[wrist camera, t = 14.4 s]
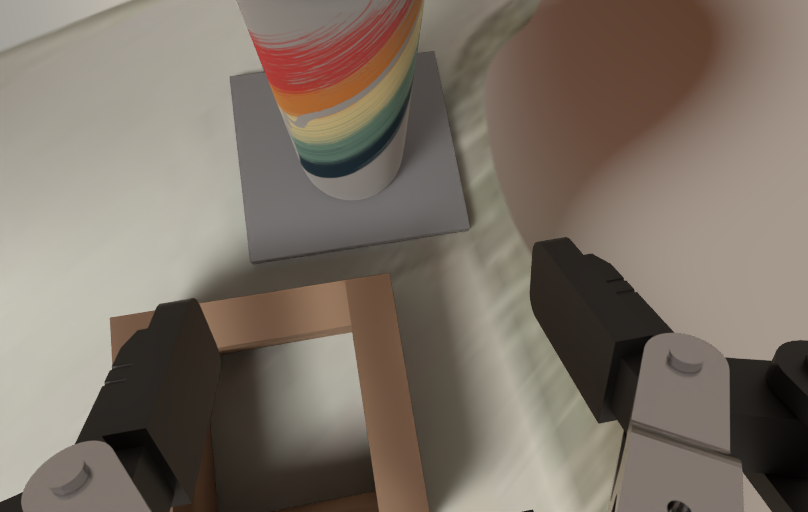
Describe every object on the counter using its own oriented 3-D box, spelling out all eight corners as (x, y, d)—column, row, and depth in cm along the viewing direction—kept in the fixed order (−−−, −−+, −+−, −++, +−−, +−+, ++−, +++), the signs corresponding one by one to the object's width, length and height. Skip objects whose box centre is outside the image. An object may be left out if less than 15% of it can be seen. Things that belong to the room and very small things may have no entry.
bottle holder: (180, 575, 23) (126, 633, 18) (162, 325, 25) (110, 317, 21) (426, 524, 24) (438, 567, 19) (387, 288, 26) (389, 273, 21)
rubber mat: (252, 264, 26) (249, 261, 26) (232, 82, 28) (229, 76, 28) (468, 230, 27) (470, 228, 27) (433, 57, 29) (434, 51, 29)
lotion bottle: (284, 131, 27) (51, -439, 8) (375, 93, 28) (375, -513, 8) (326, 219, 26) (186, -171, 7) (419, 177, 27) (533, -281, 8)
